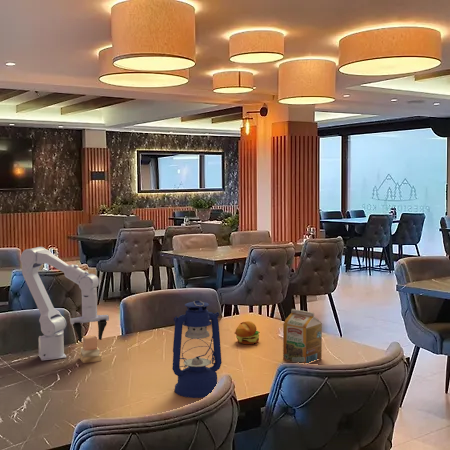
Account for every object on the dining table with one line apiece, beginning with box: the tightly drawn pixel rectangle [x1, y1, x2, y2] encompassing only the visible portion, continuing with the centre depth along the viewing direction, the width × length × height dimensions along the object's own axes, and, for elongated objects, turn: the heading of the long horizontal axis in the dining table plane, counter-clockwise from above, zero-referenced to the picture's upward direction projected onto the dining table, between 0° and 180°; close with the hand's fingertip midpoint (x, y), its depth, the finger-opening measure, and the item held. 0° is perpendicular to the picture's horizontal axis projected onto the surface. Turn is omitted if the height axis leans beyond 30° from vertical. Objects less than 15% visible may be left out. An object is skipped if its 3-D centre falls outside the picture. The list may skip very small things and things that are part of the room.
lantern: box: [171, 300, 223, 399], centre depth 203 cm, size 17×15×30 cm
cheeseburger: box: [233, 320, 260, 345], centre depth 262 cm, size 10×11×10 cm
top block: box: [80, 346, 101, 358], centre depth 238 cm, size 6×6×2 cm
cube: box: [82, 334, 98, 350], centre depth 238 cm, size 4×4×4 cm
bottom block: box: [78, 352, 102, 364], centre depth 239 cm, size 7×7×2 cm
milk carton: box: [282, 308, 323, 364], centre depth 237 cm, size 11×11×19 cm
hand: (90, 340), depth 238 cm, fingers open, 7 cm apart
